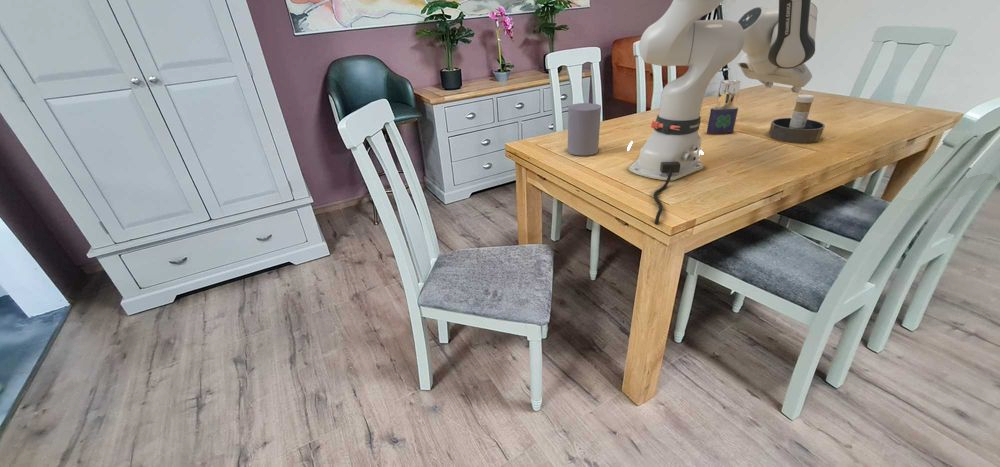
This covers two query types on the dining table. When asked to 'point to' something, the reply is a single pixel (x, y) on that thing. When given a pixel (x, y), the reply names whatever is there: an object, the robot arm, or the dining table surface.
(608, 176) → the dining table surface
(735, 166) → the dining table surface
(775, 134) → the pan
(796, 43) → the robot arm
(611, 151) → the dining table surface
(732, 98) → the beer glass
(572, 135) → the container
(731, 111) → the blue clover tile
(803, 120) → the sprinkles bottle
